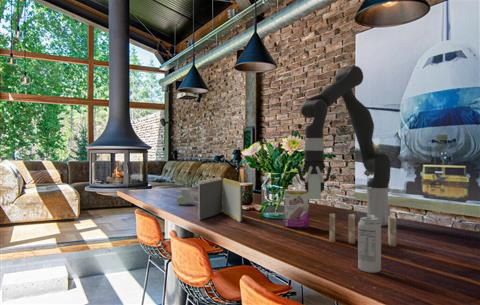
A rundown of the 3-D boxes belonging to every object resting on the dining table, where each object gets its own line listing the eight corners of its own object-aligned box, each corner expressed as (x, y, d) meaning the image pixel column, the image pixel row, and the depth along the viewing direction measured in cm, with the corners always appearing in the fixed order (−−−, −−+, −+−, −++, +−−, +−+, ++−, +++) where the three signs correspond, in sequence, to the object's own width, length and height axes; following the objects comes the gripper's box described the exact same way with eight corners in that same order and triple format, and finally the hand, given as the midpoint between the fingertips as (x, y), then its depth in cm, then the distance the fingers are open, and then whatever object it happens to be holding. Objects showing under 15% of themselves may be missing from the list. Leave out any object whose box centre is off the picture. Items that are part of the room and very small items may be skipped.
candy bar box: (283, 227, 162) (283, 190, 162) (283, 225, 167) (283, 189, 167) (309, 228, 161) (309, 190, 161) (308, 225, 166) (308, 189, 166)
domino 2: (334, 239, 140) (334, 213, 140) (335, 242, 135) (335, 215, 135) (329, 239, 140) (329, 213, 140) (329, 242, 135) (329, 215, 135)
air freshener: (196, 204, 235) (196, 188, 235) (187, 205, 228) (187, 189, 228) (183, 203, 241) (183, 187, 241) (174, 204, 234) (174, 189, 234)
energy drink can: (385, 272, 101) (385, 218, 101) (372, 277, 98) (372, 221, 98) (366, 267, 106) (366, 215, 106) (353, 271, 103) (353, 217, 103)
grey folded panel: (247, 222, 175) (247, 181, 175) (203, 225, 168) (203, 182, 168) (225, 211, 208) (225, 176, 208) (188, 213, 201) (188, 177, 201)
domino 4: (393, 243, 135) (393, 215, 134) (396, 246, 130) (396, 218, 130) (388, 242, 135) (388, 215, 135) (390, 246, 130) (390, 218, 130)
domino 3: (354, 240, 138) (354, 214, 138) (354, 244, 133) (354, 216, 133) (348, 240, 138) (348, 214, 138) (349, 243, 134) (349, 216, 134)
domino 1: (308, 198, 149) (308, 173, 149) (320, 198, 148) (320, 174, 148) (308, 198, 148) (308, 174, 147) (320, 199, 146) (320, 174, 146)
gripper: (332, 149, 150) (332, 191, 150) (297, 149, 153) (297, 190, 153) (332, 149, 142) (332, 193, 142) (295, 149, 146) (295, 192, 146)
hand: (314, 191), depth 148 cm, fingers closed on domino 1, 5 cm apart
